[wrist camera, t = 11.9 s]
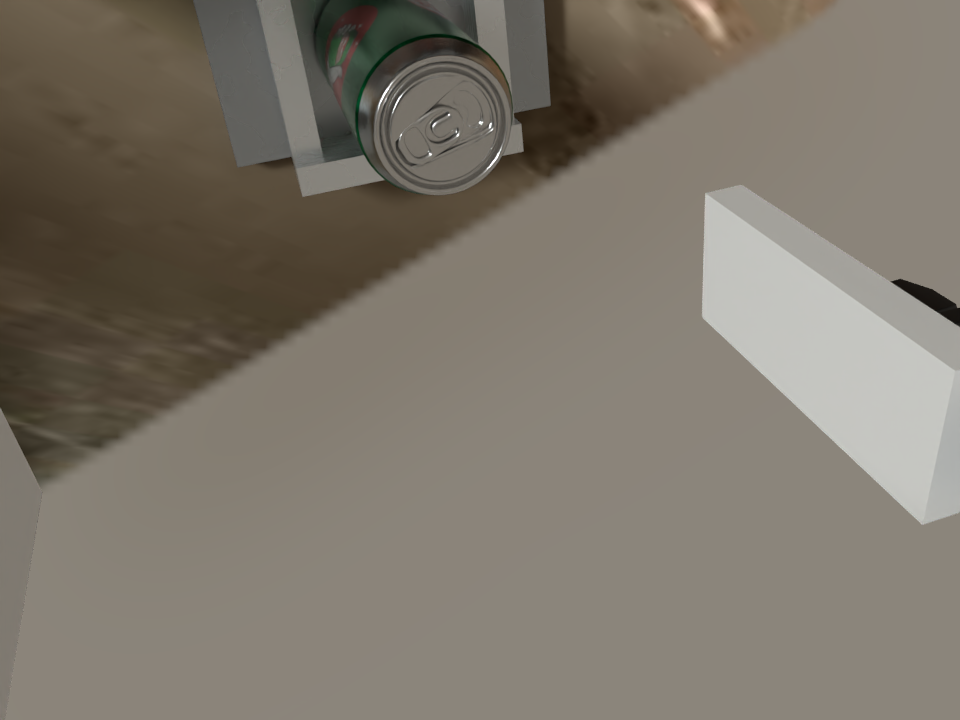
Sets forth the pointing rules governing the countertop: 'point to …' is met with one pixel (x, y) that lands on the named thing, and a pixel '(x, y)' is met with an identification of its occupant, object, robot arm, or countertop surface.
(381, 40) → the soda can
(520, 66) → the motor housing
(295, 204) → the countertop surface
